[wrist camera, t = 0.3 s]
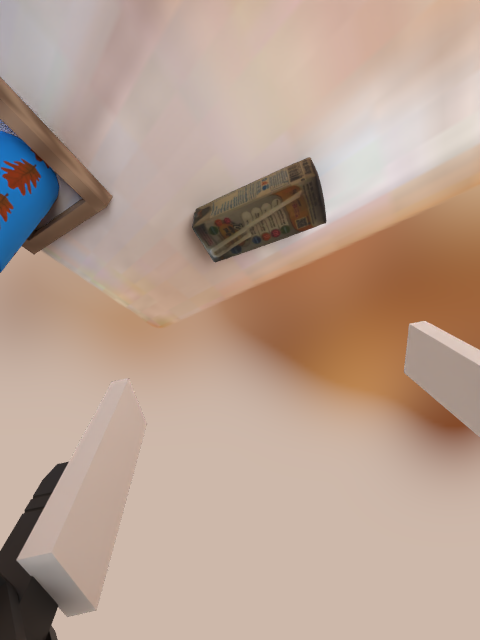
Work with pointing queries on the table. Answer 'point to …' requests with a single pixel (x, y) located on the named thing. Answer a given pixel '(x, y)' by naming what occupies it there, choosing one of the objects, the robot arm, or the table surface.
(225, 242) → the beverage carton
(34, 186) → the thermos
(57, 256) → the table surface
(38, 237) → the dock
